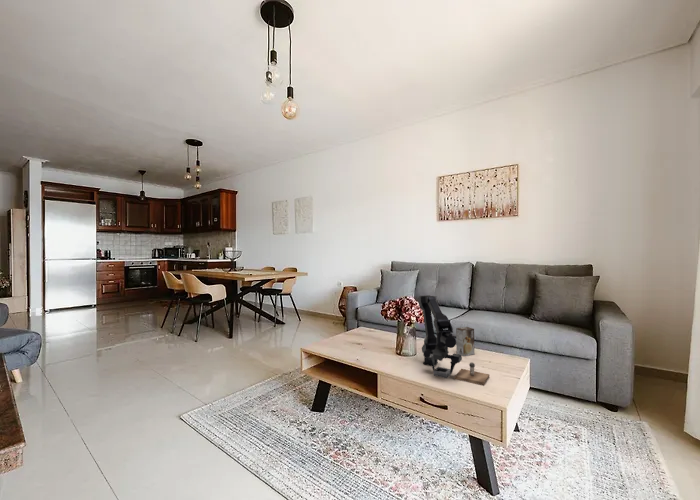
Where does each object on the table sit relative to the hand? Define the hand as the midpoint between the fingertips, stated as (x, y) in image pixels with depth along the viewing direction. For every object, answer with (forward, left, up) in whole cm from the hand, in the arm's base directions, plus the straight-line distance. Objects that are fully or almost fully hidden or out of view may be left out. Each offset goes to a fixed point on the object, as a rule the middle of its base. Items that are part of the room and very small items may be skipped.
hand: (442, 371), depth 166 cm
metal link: (0, 0, -2) cm, 2 cm away
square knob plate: (+14, +4, -2) cm, 15 cm away
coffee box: (+1, +40, -2) cm, 40 cm away
